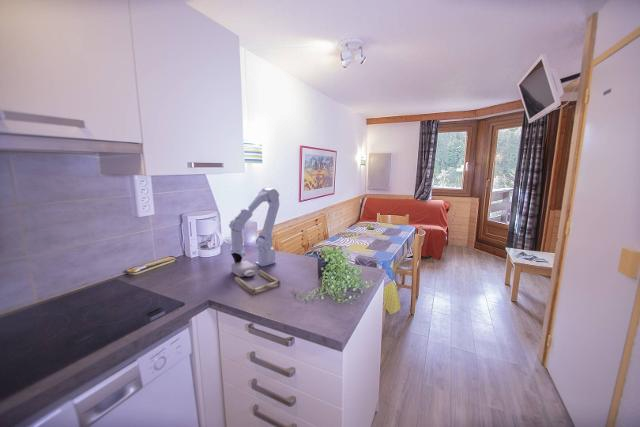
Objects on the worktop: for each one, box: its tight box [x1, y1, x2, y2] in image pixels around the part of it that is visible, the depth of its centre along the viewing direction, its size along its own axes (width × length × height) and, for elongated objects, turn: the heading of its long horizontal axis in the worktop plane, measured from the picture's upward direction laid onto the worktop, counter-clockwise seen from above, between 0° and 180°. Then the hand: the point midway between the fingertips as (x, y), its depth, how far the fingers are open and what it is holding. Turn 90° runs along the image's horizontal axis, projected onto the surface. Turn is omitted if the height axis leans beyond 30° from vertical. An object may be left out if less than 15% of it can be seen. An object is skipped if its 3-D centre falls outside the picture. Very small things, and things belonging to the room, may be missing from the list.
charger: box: [231, 260, 256, 278], centre depth 135 cm, size 5×9×15 cm
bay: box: [234, 269, 281, 295], centre depth 127 cm, size 14×18×2 cm
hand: (238, 265), depth 142 cm, fingers closed
